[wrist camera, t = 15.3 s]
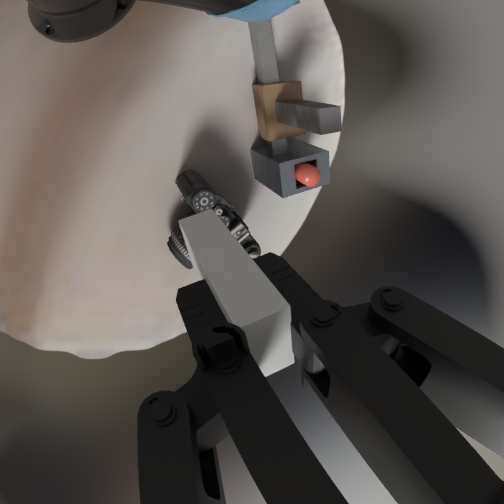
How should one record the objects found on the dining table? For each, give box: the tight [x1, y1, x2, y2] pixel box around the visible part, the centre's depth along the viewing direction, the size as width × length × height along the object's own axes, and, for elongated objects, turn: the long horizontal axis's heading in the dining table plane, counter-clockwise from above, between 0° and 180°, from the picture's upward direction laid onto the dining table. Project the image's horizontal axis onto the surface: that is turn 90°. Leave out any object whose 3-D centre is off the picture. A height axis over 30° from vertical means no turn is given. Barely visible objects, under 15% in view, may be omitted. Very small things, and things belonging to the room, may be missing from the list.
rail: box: [248, 0, 330, 198], centre depth 35 cm, size 32×8×9 cm, turn 9°
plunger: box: [294, 162, 321, 187], centre depth 40 cm, size 3×3×4 cm
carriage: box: [252, 81, 342, 141], centre depth 36 cm, size 8×6×15 cm
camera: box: [167, 170, 261, 269], centre depth 42 cm, size 14×11×10 cm
